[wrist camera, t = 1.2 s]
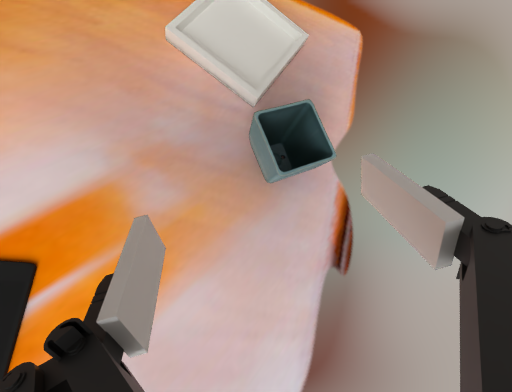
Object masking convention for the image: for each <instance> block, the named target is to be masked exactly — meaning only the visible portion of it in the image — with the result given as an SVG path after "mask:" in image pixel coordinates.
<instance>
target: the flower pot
mask: <svg viewBox="0 0 512 392" xmlns="http://www.w3.org/2000/svg"><path fill="white" fill-rule="evenodd" d="M249 139H250V143H251V146H252V149H253V151H254V154H255V156H256V159H257V161H258V163H259V166H260V168H261V171H262V173H263V176H264V178H265V180H266V181H267V182H268V183H273V182H276V181H279V180H282V179H285V178H288V177H290V176H293V175H296V174H299V173H302V172H305V171H308V170H311V169H314V168H316V167H318V166H321V165H323V164H325V163H327V162H329V161H331V160H333V159H335V158H336V153H335V150H334V148H333V146H332V144H331V142H330V140H329V138H328V136H327V133H326V131H325V129H324V127H323V125H322V122H321V120H320V118H319V116H318V114H317V111H316V109H315V107H314V104H313V103H312V101H311V100H309V99H307V100H303V101H299V102H295V103H291V104H288V105H283V106H279V107H275V108H270V109H266V110H261V111H257V112H255V113H254V116H253V120H252V124H251V128H250V133H249ZM282 156H284V159H282V158H281V157H282Z"/></svg>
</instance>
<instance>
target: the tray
mask: <svg viewBox="0 0 512 392" xmlns="http://www.w3.org/2000/svg"><path fill="white" fill-rule="evenodd" d="M165 34H166V40H167V41H168V42H169V43H171V44H172V45H173V46H174V47H176V48H177V49H178V50H180V51H181V52H182V53H183V54H185V55H186V56H187V57H189V58H190V59H191V60H193V61H194V62H195V63H196V64H198V65H199V66H200V67H202V68H203V69H204V70H206V71H207V72H208V73H209V74H211V75H212V76H213V77H215V78H216V79H217V80H218V81H220V82H221V83H222V84H224V85H225V86H226V87H228V88H229V89H230V90H231V91H233V92H234V93H235V94H237V95H238V96H239V97H241V98H242V99H243V100H244V101H246V102H247V103H248V104H250V105H251V106H252V107H254V106H255V105H256V104H257V102H258V101H259V100H260V99H261V97H262V96H263V95H264V94H265V93H266V91H267V90H268V89H269V88H270V86H271V85H272V84H273V83H274V81H275V80H276V79H277V78H278V76H279V75H280V74H281V73H282V71H283V70H284V69H285V68H286V66H287V65H288V64H289V63H290V62H291V60H292V59H293V58H294V57H295V55H296V54H297V53H298V52H299V50H300V49H301V48H302V47H303V45H304V43H305V42H306V40H307V38H308V37H309V35H308V34H307V33H306V32H304V31H303V30H302V29H301V28H300V27H298V26H297V25H296V24H295V23H294V22H292V21H291V20H290V19H289V18H287V17H286V16H285V15H284V14H283V13H281V12H280V11H279V10H278V9H276V8H275V7H274V6H273V5H272V4H270V3H269V2H268V1H267V0H195V1H194V2H193V3H192V4H191V5H190V6H189V7H187V8H186V9H185V10H184V11H183V12H182V13H180V14H179V15H178V16H177V17H176V18H175V19H174V20H172V21H171V22H170V23H169V24H168V25H167V26H165Z"/></svg>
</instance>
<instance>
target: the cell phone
mask: <svg viewBox="0 0 512 392" xmlns="http://www.w3.org/2000/svg"><path fill="white" fill-rule="evenodd" d="M35 272H36V265H35V264H33V263H25V262H11V261H0V381H1V380H2V379H3V378H4V377H5V375H6V374H7V371H8V368H9V364H10V361H11V357H12V354H13V350H14V347H15V343H16V339H17V336H18V332H19V329H20V325H21V322H22V318H23V315H24V311H25V308H26V304H27V300H28V297H29V293H30V290H31V286H32V283H33V279H34V276H35Z"/></svg>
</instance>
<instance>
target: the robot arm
mask: <svg viewBox="0 0 512 392" xmlns="http://www.w3.org/2000/svg"><path fill="white" fill-rule="evenodd" d="M361 194H362V195H363V196H364V197H365V198H366V199H367V200H368V202H369V203H370V204H371V205H372V206H373V207H374V208H375V209H376V210H377V211H378V212H379V213H380V214H381V215H382V216H383V217H384V218H385V219H386V220H387V221H388V222H389V223H390V224H391V225H392V226H393V227H394V228H395V229H396V230H397V231H398V232H399V233H400V234H401V235H402V236H403V237H404V238H405V240H406V241H408V243H409V244H410V245H411V246H412V247H413V248H414V249H415V250H416V251H417V252H418V253H419V254H420V255H421V256H422V257H423V258H424V259H425V260H426V261H427V262H428V263H429V264H430V265H431V266H432V267H433V268H434V269H435V270H437V269H440V268H444V267H447V266H451V265H452V261H453V258H454V256H455V257H456V258H457V259H459V260H460V261H461V264H460V268H459V271H458V274H457V277H456V279H460V392H512V225H510V224H509V223H508V222H506V221H503V220H501V219H498V218H493V217H480V216H479V215H477V214H476V213H474V212H473V211H471V210H470V209H468V208H467V207H465V206H464V205H462V204H460V203H459V202H458V201H455V199H453V198H452V197H450V196H448V195H447V194H446V193H444V192H443V191H441V190H440V189H437V188H434V187H431V186H429V185H428V186H424V187H421V186H419V185H418V184H417V183H415V182H414V181H412V180H411V179H409V178H408V177H407V176H405V175H404V174H403V173H401V172H400V171H398V170H397V169H395V168H394V167H393V166H391V165H390V164H388V163H387V162H386V161H384V160H383V159H381V158H380V157H378V156H377V155H376V154H374V153H371V154H368V155H364V156H362V157H361ZM165 249H166V248H165V246H164V244H163V242H162V241H161V239H160V237H159V235H158V233H157V231H156V230H155V228H154V226H153V224H152V222H151V220H150V219H149V217H148V215H144V216H140V217H137V218H134V221H133V223H132V226H131V229H130V232H129V234H128V237H127V240H126V242H125V245H124V248H123V250H122V253H121V256H120V259H119V261H118V264H117V267H116V269H115V272H114V273H113V274H110V275H106V276H105V277H104V279H103V280H102V281H101V282H100V284H99V285H98V287H97V290H96V292H95V294H94V295H95V296H94V297H93V299H92V302H91V303H92V304H90V307H89V309H88V311H87V314H86V316H85V319H84V321H83V322H82V321H81V320H80V319H78V318H71V319H69V320H66V321H64V322H63V323H61V324H60V325H58V326H57V327H56V328H55V329H54V330H53V331H52V332H51V333H50V334H49V336H48V337H47V338H46V341H45V343H44V351H46V352H47V353H48V354H49V355H51V356H52V357H53V358H52V359H50V360H48V361H47V362H45V363H43V364H41V365H40V366H36V365H35V364H34V363H31V362H26V363H22V364H20V365H18V366H16V367H15V368H14V369H12V370H11V371H10V372H8V373H7V374H6V375H5V377H4V378H3V379H2V380H1V381H0V392H144V390H143V389H142V387H141V386H140V385H139V383H138V382H137V380H136V379H135V378H134V376H133V375H132V373H131V372H130V371H129V369H128V368H127V367H126V365H125V364H124V363H123V362H122V361H121V360H122V356H123V352H125V353H126V354H127V355H128V356H129V357H130V358H131V357H134V356H138V355H141V354H145V353H147V352H148V347H149V341H150V335H151V329H152V324H153V318H154V312H155V307H156V301H157V295H158V289H159V284H160V278H161V272H162V266H163V261H164V255H165Z"/></svg>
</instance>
